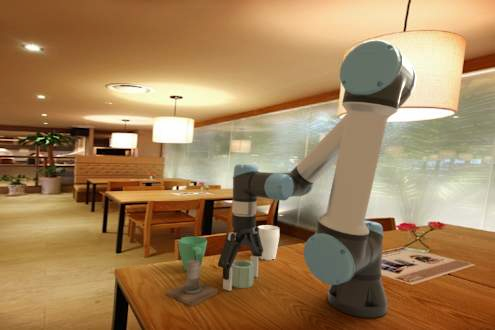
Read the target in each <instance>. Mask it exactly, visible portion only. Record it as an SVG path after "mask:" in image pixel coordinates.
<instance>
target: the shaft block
mask: <svg viewBox="0 0 495 330" xmlns="http://www.w3.org/2000/svg"><path fill="white" fill-rule="evenodd" d="M200 271H201V266H200V261H198V260H190V261H188V262H187V271H186V282H185V283H183V284H180V285H179V286H176V287H173V288H172V289H171V288H170V289H169V290H167V291H166V295H167V296H169V297H171V298H172V299H175V300H176V301H180V302H181V303H184V304H186V305H188V306H190V307H193V306H195V305H197V304H200V303H201V302H203V301H205V300H207V299H209V298H211V297H213V296H215V295H216V294H218V293H219V290H218V289H217V288H216V287H215V288H214V287H212V286H210V285H207V284H204V283H202V282H200V274H201V272H200Z"/></svg>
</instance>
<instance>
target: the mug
mask: <svg viewBox="0 0 495 330" xmlns="http://www.w3.org/2000/svg"><path fill="white" fill-rule="evenodd" d="M207 243H208V239H207V238H206V237H201V236H185V237H181V238H180V239H178V240H177V244H178V252H179V255H180V259H181V263H182V265H183V269H184V270H185V271H186V270H187V262H188V261H190V260H198V261H200V267H201V266H202V263H203V259H204V256H205V253H206V248H207V245H208V244H207Z"/></svg>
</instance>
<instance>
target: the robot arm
mask: <svg viewBox="0 0 495 330" xmlns="http://www.w3.org/2000/svg"><path fill="white" fill-rule="evenodd" d="M339 69H340V70H339V79H340V82H341V85H342V87H343V89H344V92H343V98H342V103H341V106H342V107H343V108H344V110H345V111H346V114H345V115H344V116H343V117H342V118H341V119H340V120H339V121H338V122H337V123H336V124H335V125H334V126H333V127H332V128H331V130H329V132H327V134H325V136H324V137H323V138H322V139H321V140H320V141H318V143H317V144H316V145H315V146H314V147H313V148H312V149H311V150H310V151H309V152H308V153H307V155H306V156H305V157H304V158H302V159H301V161H300V162H299V163H298V164H297V165H296V166H295V167H294V168H293V169H292V170H291V171H290V172H266V171H265V172H264V171H263V172H262V171H261V172H260V171H259V167H258V165H256V164H236V165H235V166H234V167H233V168H234V169H233V176H232V211H231V212H232V213H233V214H232V215H231V227H232V228H233V232H226V234H225V241H224V244H223V247H222V250H221V252H220V253H221V254H220V256H219V259H218V263H217V267H219V268H222V279H223V280H222V289H223V290H225V291H229V292H231V291H232V289H233V288H232V287H233V286H232V269H233V268H231V265H232V263H233V261H235V260H236V257H237V255H238V253H239V250H240V249H241V248H242V247H243V246H245V245H247V247H248V248H249V250H250V253H251V255H250V260H249V261H251V262H253V264H254V278H258V276H259V264H260V263H259V261H260V258H259V256H260V257H261V256H262V253H263V247H262V244H261V240H260V236H259V227H258V226H256V225H257V216H256V214H257V208H258V207H257V205H258V201H257V200H258V198H262V199H268V200H273V201H287V200H288V199H290V198H291V197H292V198H293V197H303V196H305V195H308V194H310V193H311V191H312V190H313V187H314V183H316V181H317V180H319V179H320V178H321V177H322V176H323V175H324V174H325V173H326V172H327V171H328V170H329V169H330V168H331V167H332V166H333V165H334V164H336V165H335V170H334V174H333V179H332V183H331V184H332V185H331V188H330V189H331V190H330V192H329V193H330V194H329V198H328V203H327V207H326V212H325V213H324V214H322V215H320V216H318V219H317V222H316V223H317V224H316V228H315V233H314V234H313V235H311V236H310V237H309V238H308V239H307V240H306V242H305V243H304V247H303V257H304V262H305V264H306V266H307V267H308V269H309V271H310V273H311V274H312V276H313V277H315V278H316V279H318V280H319V281H321V282H323V284H327V285H329V287H328V291H327V293H328V294H327V300H328V302H329V304H330V305H331V306H332V307H333V308H335V310H338V311H339V312H342V313H345V314H348V315H350V316H354V317H360V318H367V319H368V318H370V319H371V318H373V319H374V318H379V317H383V316H384V315H386V314H387V311H388V299H387V295H386V293H385V288H384V285H383V281H382V263H383V247H384V245H383V242H384V228H383V226H382V225H383V224H381V223H379V222H376V221H371V220H366V215H367V211H368V205H369V203H370V198H371V193H372V188H373V184H374V182H375V181H374V179H375V176H376V171H377V167H378V164H379V163H378V162H379V158H380V154H381V149H382V145H383V142H384V141H383V140H384V136H385V132H386V126H387V122H388V119H389V118H390V117H391V116H393V115H395V114H396V113H397V112H398V110H399V109H400V108H401V107H402V106H403V105H404V104H405V103H406V102H407V101H408V99H409V98H410V97H411V96H412V93H413V92H414V90H415V87H416V85H417V74H416V70H415V68H414V66H413V65H412V63H411V62H410V61H408V60H407V59H406V57H405V56H404V55H403V54H402V53H401V51H400V49H399V48H398V47H397V46H395V45H393V44H391V43H390V42H388V41H386V40H382V39H372V40H367V41H365V42H362V43H360V44H358V45H356V46H355V47H354V48H353V49H352V50H351V51H349V52H348V54H347V55H346V56H345V58H344V59H343V61H342V63H341V65H340V68H339Z"/></svg>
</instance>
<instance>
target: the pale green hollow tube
mask: <svg viewBox="0 0 495 330" xmlns="http://www.w3.org/2000/svg"><path fill="white" fill-rule="evenodd" d="M231 268H233V269H232V287H233V288H234V287H235V288H236V289H247V288H250V287H252V286H254V284H255V283H254V281H255V279H254V278H255V277H254V264H253V262H251V261H250V260H247V259H234V261H233V263H232V265H231Z"/></svg>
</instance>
